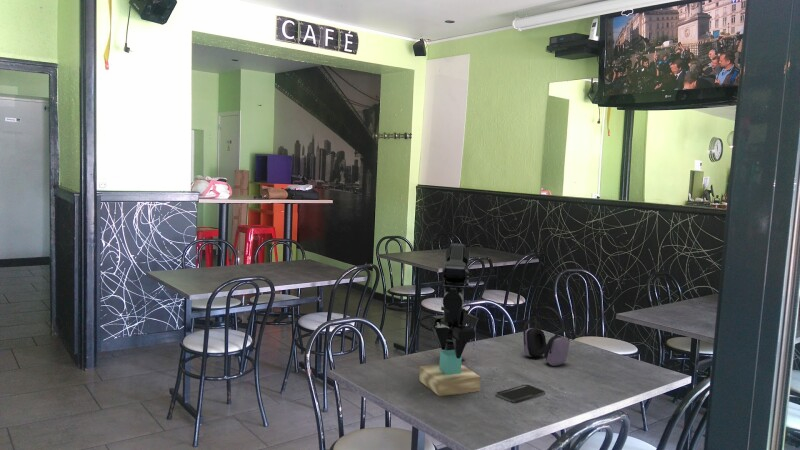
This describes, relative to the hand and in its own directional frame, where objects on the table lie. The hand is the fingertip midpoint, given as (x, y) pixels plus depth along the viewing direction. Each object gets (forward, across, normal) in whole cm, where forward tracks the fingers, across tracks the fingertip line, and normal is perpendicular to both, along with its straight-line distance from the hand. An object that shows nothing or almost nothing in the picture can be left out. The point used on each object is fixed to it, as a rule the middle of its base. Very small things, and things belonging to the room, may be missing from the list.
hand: (450, 353), depth 180 cm
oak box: (+11, 0, 0) cm, 11 cm away
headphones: (+10, +11, -47) cm, 49 cm away
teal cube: (+6, 0, 0) cm, 6 cm away
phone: (+11, -14, -17) cm, 24 cm away
